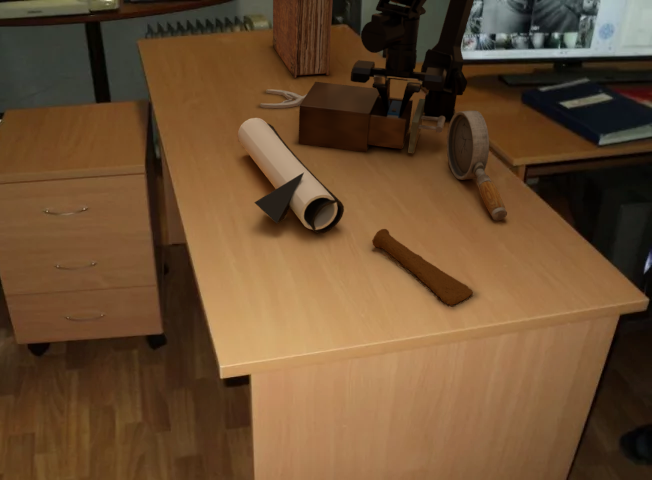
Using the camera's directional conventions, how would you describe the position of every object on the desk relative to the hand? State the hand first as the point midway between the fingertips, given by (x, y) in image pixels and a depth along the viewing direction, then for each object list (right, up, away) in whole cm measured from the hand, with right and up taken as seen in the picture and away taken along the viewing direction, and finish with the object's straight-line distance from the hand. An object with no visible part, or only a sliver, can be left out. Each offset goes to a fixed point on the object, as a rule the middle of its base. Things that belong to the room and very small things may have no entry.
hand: (394, 115), depth 153 cm
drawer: (+1, -4, +3) cm, 5 cm away
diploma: (-26, -18, -16) cm, 35 cm away
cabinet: (-11, -3, +6) cm, 13 cm away
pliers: (-20, +8, +21) cm, 30 cm away
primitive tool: (-2, -33, -36) cm, 49 cm away
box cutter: (0, -1, +1) cm, 1 cm away
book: (-19, +25, +44) cm, 54 cm away
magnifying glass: (+13, -17, -14) cm, 26 cm away
